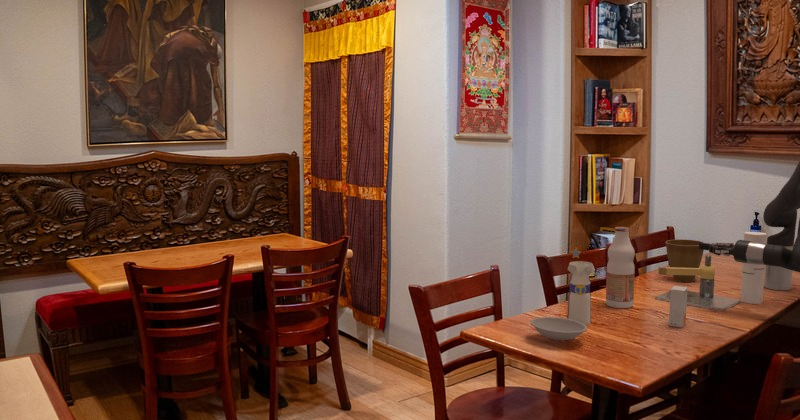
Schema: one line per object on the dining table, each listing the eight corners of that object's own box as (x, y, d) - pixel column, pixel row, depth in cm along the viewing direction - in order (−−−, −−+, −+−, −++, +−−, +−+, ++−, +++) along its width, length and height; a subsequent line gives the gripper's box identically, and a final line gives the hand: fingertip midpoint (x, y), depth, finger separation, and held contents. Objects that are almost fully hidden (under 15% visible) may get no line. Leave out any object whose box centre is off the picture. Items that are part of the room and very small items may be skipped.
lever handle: (712, 276, 254) (712, 265, 253) (716, 279, 249) (716, 267, 249) (657, 275, 257) (657, 263, 256) (660, 278, 252) (660, 266, 252)
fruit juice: (610, 309, 239) (613, 229, 236) (602, 302, 249) (604, 225, 245) (637, 308, 240) (640, 229, 236) (627, 301, 249) (630, 225, 246)
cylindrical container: (765, 304, 244) (769, 235, 241) (743, 303, 246) (747, 234, 243) (759, 299, 251) (763, 232, 248) (738, 298, 253) (741, 231, 250)
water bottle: (594, 325, 219) (596, 249, 216) (566, 324, 221) (568, 248, 218) (592, 318, 227) (594, 244, 224) (565, 317, 229) (567, 243, 226)
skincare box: (682, 328, 216) (684, 290, 215) (668, 326, 219) (670, 289, 217) (686, 323, 222) (687, 287, 220) (672, 321, 224) (673, 285, 222)
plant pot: (674, 274, 293) (675, 237, 291) (709, 280, 282) (711, 242, 281) (657, 280, 283) (659, 242, 281) (693, 286, 272) (694, 246, 271)
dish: (519, 339, 206) (519, 323, 206) (547, 329, 216) (548, 314, 215) (569, 353, 193) (570, 335, 193) (597, 342, 203) (597, 325, 202)
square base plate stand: (675, 291, 264) (676, 250, 262) (740, 302, 247) (743, 258, 245) (654, 299, 252) (656, 256, 250) (722, 311, 235) (724, 265, 233)
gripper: (759, 238, 234) (707, 232, 246) (744, 244, 225) (692, 237, 237) (758, 260, 235) (706, 253, 247) (743, 266, 226) (691, 259, 238)
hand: (699, 245), depth 242 cm, fingers closed
